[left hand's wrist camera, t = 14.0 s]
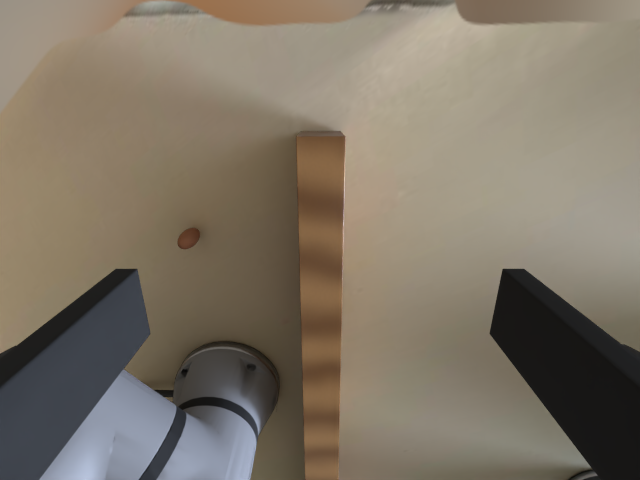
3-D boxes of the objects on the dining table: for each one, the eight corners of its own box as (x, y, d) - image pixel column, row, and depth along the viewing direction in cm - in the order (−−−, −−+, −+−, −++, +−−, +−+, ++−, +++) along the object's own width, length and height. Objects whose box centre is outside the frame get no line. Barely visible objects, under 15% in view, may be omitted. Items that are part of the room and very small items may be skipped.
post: (300, 131, 40) (296, 136, 32) (340, 131, 40) (345, 136, 32) (309, 521, 64) (307, 577, 57) (334, 521, 64) (335, 577, 57)
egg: (200, 241, 45) (186, 256, 40) (185, 234, 44) (169, 249, 40) (206, 228, 44) (192, 242, 39) (191, 221, 44) (176, 234, 39)
